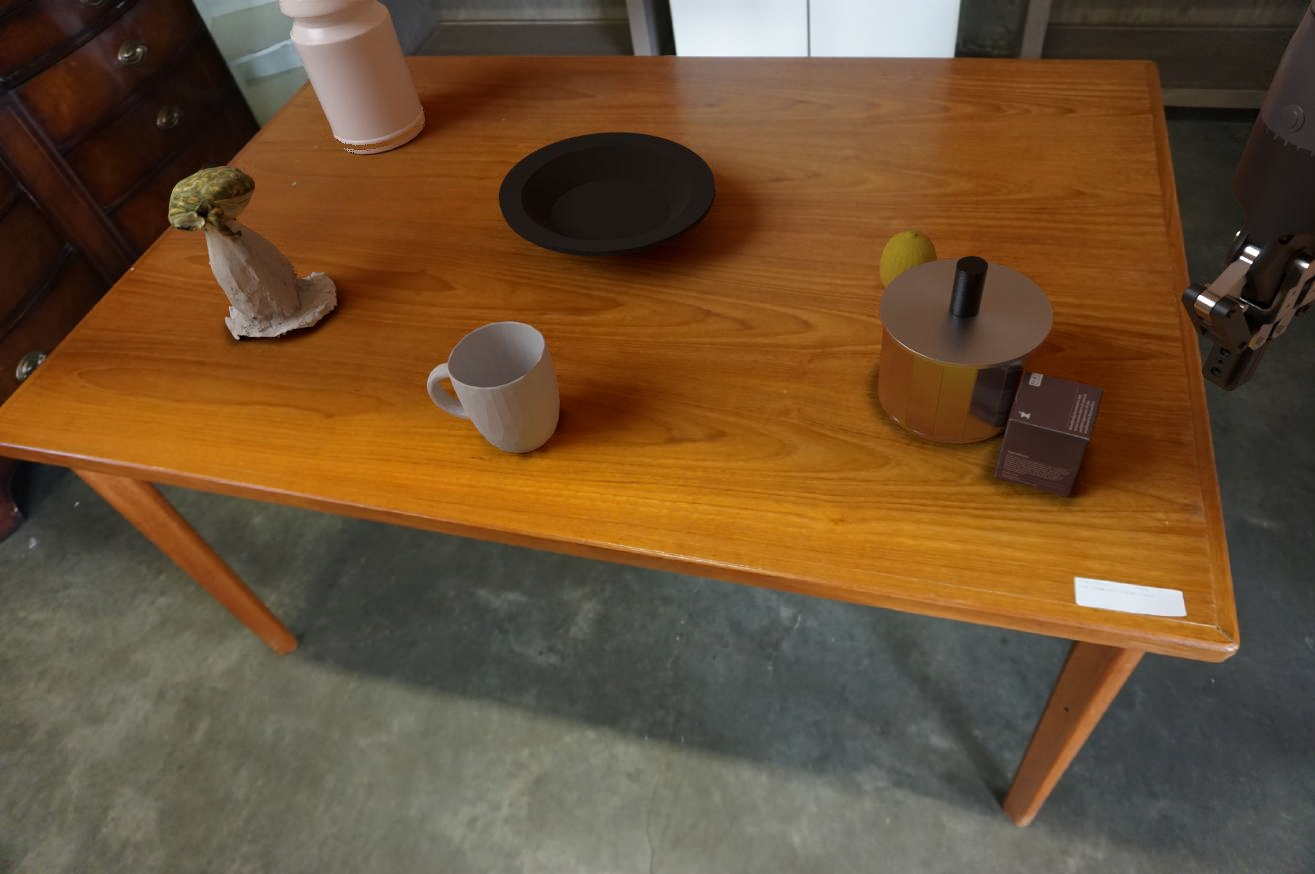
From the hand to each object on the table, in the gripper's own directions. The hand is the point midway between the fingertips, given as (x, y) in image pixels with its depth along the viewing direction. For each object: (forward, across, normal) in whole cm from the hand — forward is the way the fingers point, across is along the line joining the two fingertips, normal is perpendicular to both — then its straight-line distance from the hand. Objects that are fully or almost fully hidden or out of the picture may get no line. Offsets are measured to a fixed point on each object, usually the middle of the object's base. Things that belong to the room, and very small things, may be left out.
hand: (1224, 379), depth 52 cm
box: (+17, 0, +10) cm, 20 cm away
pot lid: (+8, -1, +20) cm, 22 cm away
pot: (+17, 0, +21) cm, 27 cm away
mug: (+17, -37, +42) cm, 58 cm away
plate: (+16, -13, +66) cm, 69 cm away
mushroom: (+16, -52, +76) cm, 94 cm away
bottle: (+16, -30, +112) cm, 117 cm away
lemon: (+17, +5, +34) cm, 38 cm away
